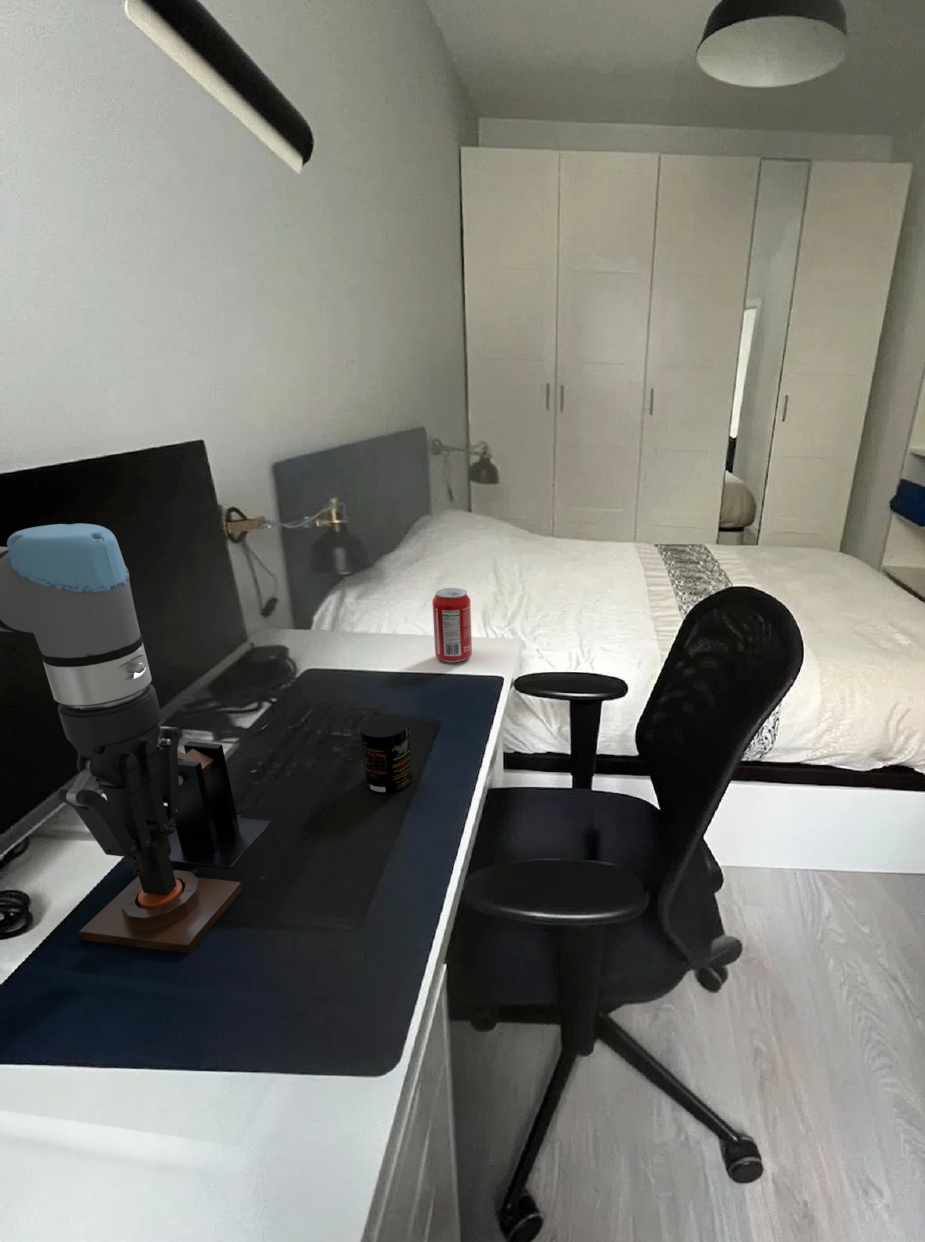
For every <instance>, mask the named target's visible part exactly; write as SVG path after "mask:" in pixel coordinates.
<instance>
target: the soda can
mask: <svg viewBox="0 0 925 1242" xmlns="http://www.w3.org/2000/svg"><path fill="white" fill-rule="evenodd" d="M434 593H435V594H434V597H433V598H432V604H431V605H432V621H433V623H432V624H433V638H434V642H433V643H434V654H435V658H437V659H438V660H440V661H442V662H444V663H448V664H456V662H457V663H461V661H462V662H464V661H466V660H468V659H469V658H471V656H472V654H473V643H472V642H473V639H472V610H471V609H472V607H471V598H470V597H469V595H468V594H467V593H468V592H467V590H465V589H463V588H459V587H445V588H444V587H443V588H440V589H438V590H436V591H435V592H434Z"/></svg>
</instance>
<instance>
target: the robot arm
mask: <svg viewBox="0 0 925 1242" xmlns="http://www.w3.org/2000/svg"><path fill="white" fill-rule="evenodd" d="M6 541H7V542H6V546H0V632H4V633H5V632H6V633H7V632H8V633H17V634H18V633H20V634H22V633H23V634H32V633H33V635H34V637H35V640H36V643H37V646H38V648H39V655H40V658H41V660H42V663H43V666H44V670H45V674H46V676H47V681H48V683H49V687H50V690H51V694H52V697H53V700H54V701H55V702H57V703H59V704H58V705H57V712H58V715H59V719H60V722H61V725H62V729H63V732H64V734H65V737H66V739H67V741H69V742H70V744H72V746H73V747H74V748H75V749H76V751H77V761H76V768H77V771H78V773H79V775H78V776H77V778H76V780H75V781H74V783H73V785H72V787H63V788H61V789H60V790H59V792H58V795H57V797H58V800H59V801H61V802H62V803H64V804H66V805H68V806H70V807H72V808H73V809H74V811H75V812H76V813H77V814H78V816H79V818H80V819H81V821H82V822H83V823H84V825H85V826H86V828H87V829H88V830H89V832H90V834H91V836H93V839H95V841H96V843H97V844H98V845H99V847H100V848H101V849H102V851H103V852H104V854H105V855H107V856H114V857H115V856H116V857H124V858H128V860H129V864H130V868H131V871H132V873H133V874H134V875H135V876H139V879H140V882H141V886H142V889H143V893H149V894H158V895H168V894H169V893H170V892H171V891H172V890H173V889H174V888H175V887H176V886H177V884H176V880H175V876H174V872H173V870H174V869H173V865H172V862H171V861H170V857H169V855H170V854H171V846H170V842H169V839H168V836H170V835H172V834H173V833H174V832H175V830H176V825H175V824H170V822H171V820H172V819H174V818H176V817H178V815H179V813H180V804H179V777H178V751H179V745H180V740H181V734H182V730H181V728H180V727H174V726H166V725H165V726H163V725H161V724H160V721H161V719H162V712H161V709H160V705H159V704H160V703H159V700H158V695H157V692H156V689H155V686H154V685H153V684H151V682H152V674H151V670H150V666H149V662H148V657H147V654H146V649H145V646H144V641H143V640H144V639H143V636H142V634H141V631H140V626H139V621H138V617H137V612H136V608H135V603H134V598H133V593H132V587H131V582H130V571H129V569H128V567H127V566H126V564H125V560H124V557H123V554H122V551H121V549H120V548H121V547H120V546H119V543H118V540H117V538H116V536H115V534H114V533H113V532H112V530H110V529H108V528H106V527H105V526H102V525H99V524H92V523H73V524H72V523H71V524H68V523H67V524H66V523H57V524H47V525H39V526H33V527H28V528H24V529H20V530H17V531H15V532H13V533H12V534H11V535H10V536H9V537H8V538H7V540H6ZM103 795H104V796H103ZM165 804H166V805H165Z"/></svg>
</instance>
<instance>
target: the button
mask: <svg viewBox="0 0 925 1242" xmlns="http://www.w3.org/2000/svg"><path fill="white" fill-rule="evenodd" d="M175 880H176V884H177V886H176V887H175V888H174V889H173V890H172V891H171V892H170V893H169V894H168V895H158V894H149V893H143V890H142V891H141V892H140V893H139V896H138V901H139V905H140V908H144V909H154V908H158V907H162V906H165V905H167V904H169V903H171V902H172V901H174V900H176V899H177V898H178V897H179V896H180V895H181V894H182V893H183V892H184V891H183V887H182V884H181V882H180V881H179V880H178V879H175Z"/></svg>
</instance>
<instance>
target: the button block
mask: <svg viewBox="0 0 925 1242" xmlns="http://www.w3.org/2000/svg"><path fill="white" fill-rule="evenodd" d="M173 872H174V876H175V879H178V880H179V881H180V882H181V884H182V887H183V891H184V892H183V893H182V894H181V895H180V896H179V897H178V898H177V899H176V900H174V901H172V902H171V903H169V904H167V905H165V906H162V907H158V908H154V909H144V908H140V905H139V901H138V896H139V893H140V892H141V891H142V890H143V889H142V886H141V882H140V879H139V875H137V876H136V878H135V879H133V880H132V881H131V882H130V883H129V884H128V885H127V886H126V887H124V889H123V890H122V891H120V892H119V894H117V895H116V896H115V897H114V898H113V899H112V900H111V901H110V902H109V903H107V905H105V907H104V908H102V909H101V910H100V911H99V912H98V913H97V914H96V915H95V916H94V917H93V918H92V919H90V921H88V922H87V923H86V925H84V926H83V927H82V928H81V929H80V930H79V931H78V933H79V936H80V939H81V941H88V942H95V943H102V944H103V943H104V944H113V945H118V946H119V945H120V946H127V947H128V946H129V947H135V948H144V949H150V950H159V951H167V952H168V951H169V952H175V953H184V954H191V953H192V952H193V950H194V949H195V948H196V946H198V944H199V943H200V942H201V941H202V940H203V938H204V937H205V936H206V935H207V934H208V932H209V931H210V930H211V929H212V927H213V926H214V925H215V924H216V923H217V921H219V919H220V918H221V916H222V915H223V914H224V913H225V912H226V911H227V909H228V908H229V907H230V906H231V904H233V902H234V901H235V900H236V898H237V897H238V896H239V895H240V894H241V893H242V891H243V887H242V882H241V881H232V880H225V879H224V880H223V879H217V878H216V879H214V878H207V877H206V878H205V877H198V876H195V874H193V873H192V872H191V871H189V870H179V869H173Z"/></svg>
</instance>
